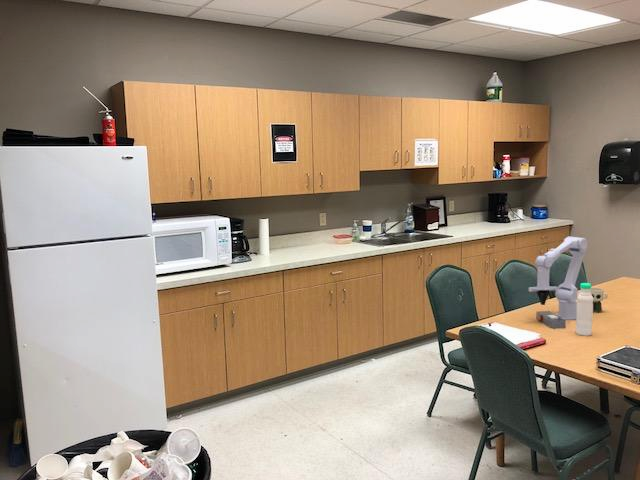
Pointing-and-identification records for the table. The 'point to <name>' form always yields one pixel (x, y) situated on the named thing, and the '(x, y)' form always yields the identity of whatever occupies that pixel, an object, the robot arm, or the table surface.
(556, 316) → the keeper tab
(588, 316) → the water bottle
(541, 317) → the pin
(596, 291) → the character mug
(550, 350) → the table surface
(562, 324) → the block
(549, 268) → the robot arm
